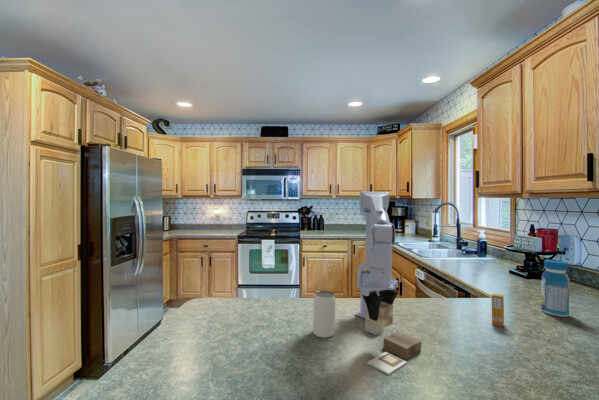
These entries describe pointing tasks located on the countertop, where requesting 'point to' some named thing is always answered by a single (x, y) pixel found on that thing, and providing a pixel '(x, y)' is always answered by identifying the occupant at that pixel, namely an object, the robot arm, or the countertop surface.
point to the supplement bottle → (555, 288)
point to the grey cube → (373, 328)
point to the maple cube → (382, 316)
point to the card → (387, 363)
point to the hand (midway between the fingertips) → (379, 317)
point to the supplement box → (497, 310)
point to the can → (324, 314)
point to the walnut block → (402, 345)
